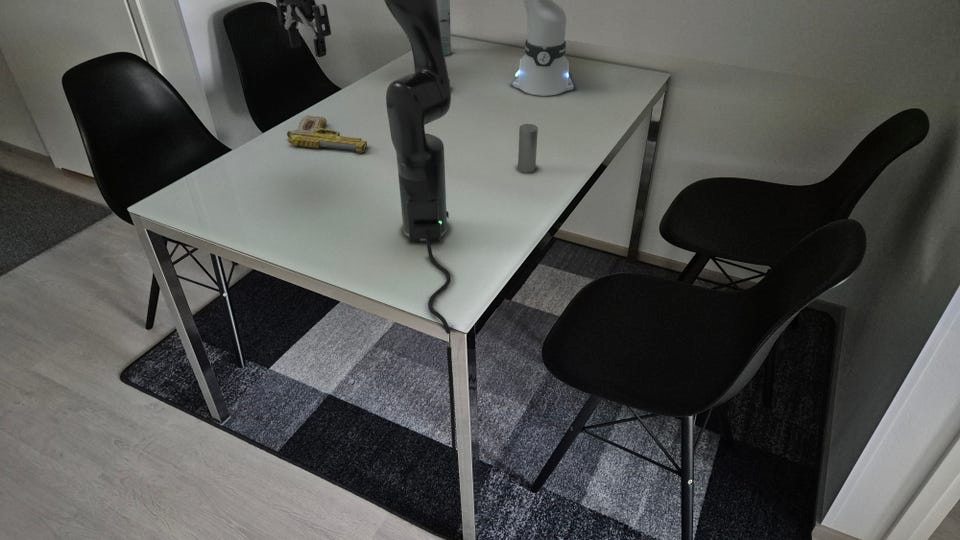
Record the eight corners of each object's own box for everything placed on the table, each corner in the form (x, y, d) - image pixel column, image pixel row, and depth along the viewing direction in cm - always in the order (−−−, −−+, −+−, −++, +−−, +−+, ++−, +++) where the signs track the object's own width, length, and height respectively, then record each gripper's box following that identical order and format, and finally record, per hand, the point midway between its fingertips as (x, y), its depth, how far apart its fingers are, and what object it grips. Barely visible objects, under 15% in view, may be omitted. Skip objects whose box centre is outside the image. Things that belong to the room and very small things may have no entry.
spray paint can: (430, 51, 220) (427, -10, 208) (447, 48, 222) (445, -12, 209) (435, 57, 215) (433, -5, 203) (453, 54, 217) (452, -7, 205)
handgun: (382, 130, 171) (364, 155, 159) (304, 122, 174) (280, 145, 162) (382, 122, 169) (363, 146, 157) (303, 113, 172) (278, 136, 161)
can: (532, 174, 151) (534, 132, 145) (515, 171, 152) (517, 130, 146) (537, 166, 154) (540, 125, 148) (520, 163, 156) (522, 122, 149)
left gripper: (333, -30, 121) (344, 54, 131) (288, -41, 128) (302, 40, 138) (301, -23, 116) (315, 64, 126) (256, -34, 124) (273, 48, 134)
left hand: (308, 51), depth 132 cm, fingers open, 8 cm apart
